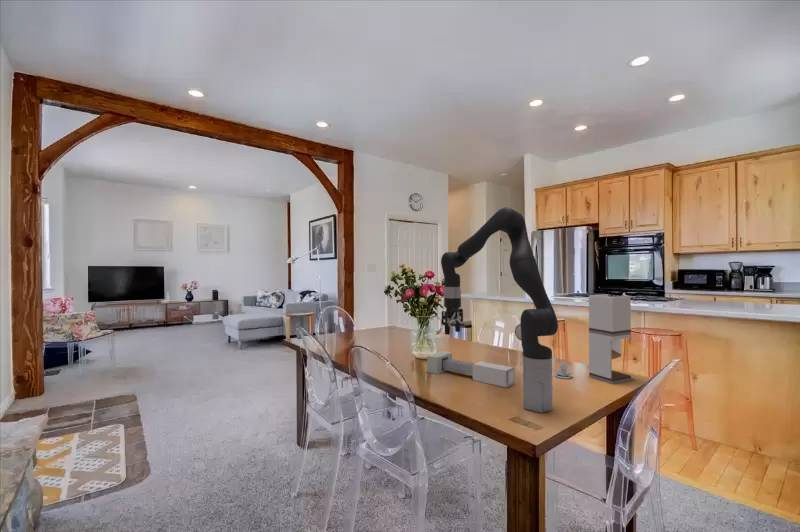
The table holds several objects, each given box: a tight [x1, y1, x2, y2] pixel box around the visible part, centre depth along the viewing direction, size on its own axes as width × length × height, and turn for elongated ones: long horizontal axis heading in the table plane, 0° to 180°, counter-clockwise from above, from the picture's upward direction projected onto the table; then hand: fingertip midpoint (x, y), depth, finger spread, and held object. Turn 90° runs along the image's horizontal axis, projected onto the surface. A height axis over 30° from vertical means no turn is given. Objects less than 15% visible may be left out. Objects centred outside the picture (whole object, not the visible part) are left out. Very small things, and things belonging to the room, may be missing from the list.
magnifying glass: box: [514, 323, 521, 341], centre depth 175 cm, size 9×2×20 cm, turn 57°
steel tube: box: [442, 358, 475, 376], centre depth 160 cm, size 4×26×4 cm, turn 49°
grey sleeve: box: [472, 360, 515, 389], centre depth 150 cm, size 6×16×7 cm, turn 49°
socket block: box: [426, 350, 453, 375], centre depth 168 cm, size 12×6×7 cm, turn 139°
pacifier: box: [554, 361, 574, 380], centre depth 156 cm, size 7×6×6 cm
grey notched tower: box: [588, 293, 632, 385], centre depth 153 cm, size 11×11×35 cm
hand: (452, 333), depth 163 cm, fingers open, 8 cm apart
